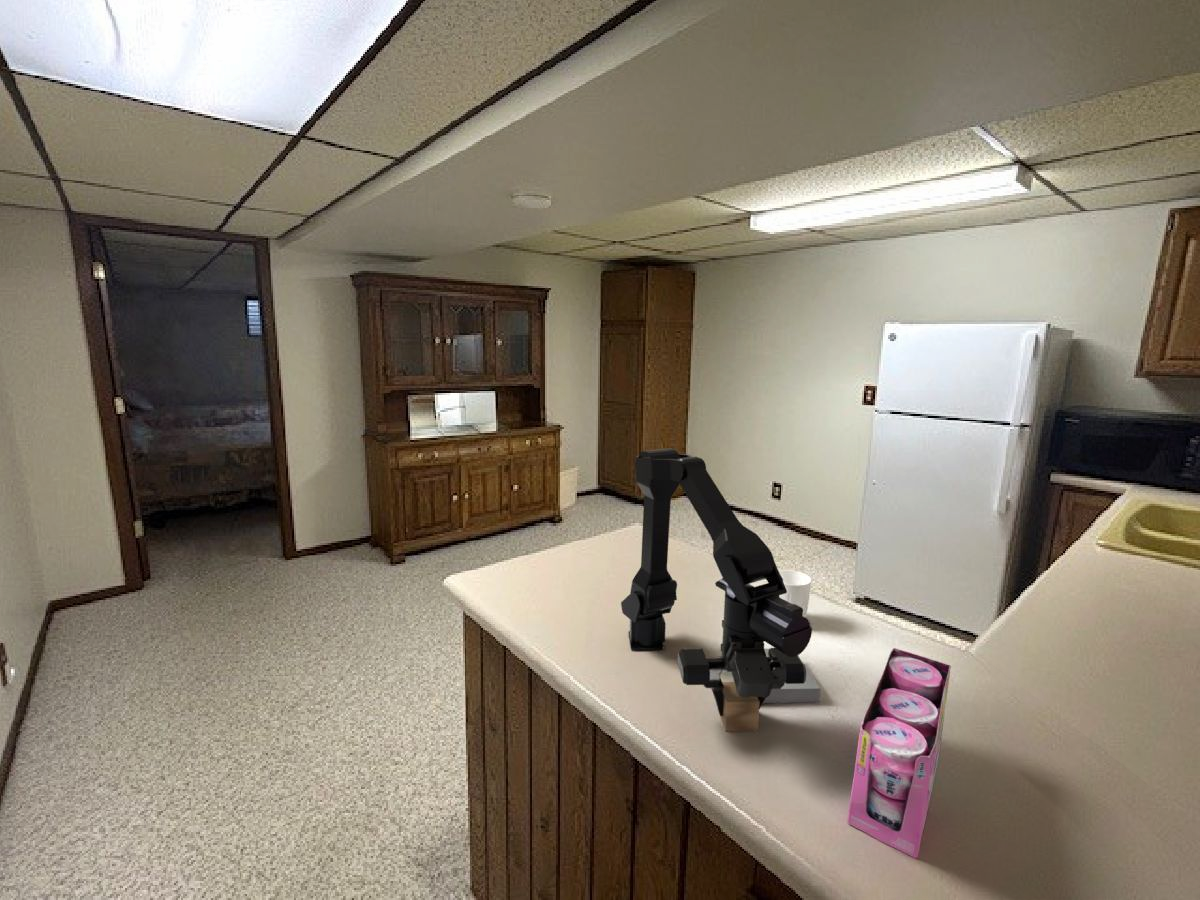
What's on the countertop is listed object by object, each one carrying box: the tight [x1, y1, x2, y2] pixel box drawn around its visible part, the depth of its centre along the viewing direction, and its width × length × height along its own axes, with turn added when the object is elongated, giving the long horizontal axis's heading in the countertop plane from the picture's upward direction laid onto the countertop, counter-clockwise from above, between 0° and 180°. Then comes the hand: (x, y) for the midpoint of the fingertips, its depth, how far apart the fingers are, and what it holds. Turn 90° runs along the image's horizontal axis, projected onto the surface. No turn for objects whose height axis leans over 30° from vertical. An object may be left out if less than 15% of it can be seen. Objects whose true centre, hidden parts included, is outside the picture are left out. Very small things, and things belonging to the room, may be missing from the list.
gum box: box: [847, 647, 952, 859], centre depth 70 cm, size 24×8×14 cm, turn 142°
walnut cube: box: [717, 681, 760, 732], centre depth 84 cm, size 5×5×5 cm
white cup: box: [778, 569, 813, 618], centre depth 114 cm, size 8×8×10 cm
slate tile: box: [763, 648, 822, 704], centre depth 94 cm, size 12×12×2 cm
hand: (737, 713), depth 84 cm, fingers closed on walnut cube, 5 cm apart
